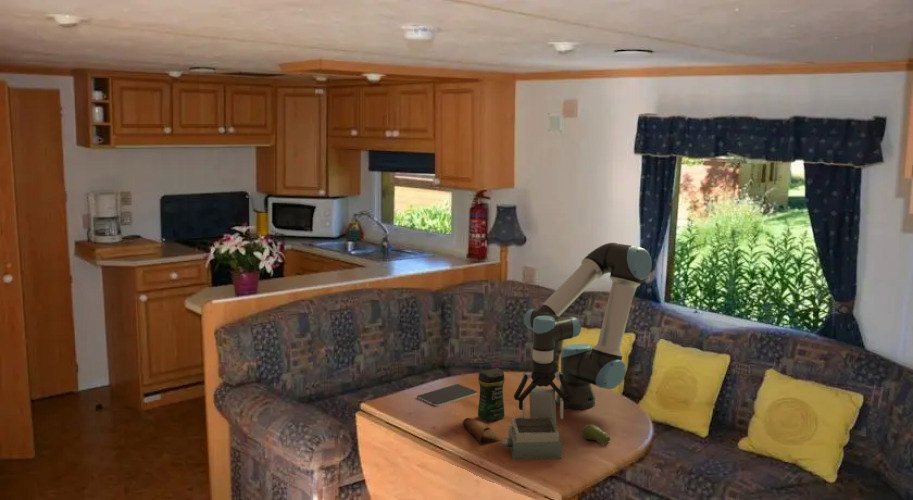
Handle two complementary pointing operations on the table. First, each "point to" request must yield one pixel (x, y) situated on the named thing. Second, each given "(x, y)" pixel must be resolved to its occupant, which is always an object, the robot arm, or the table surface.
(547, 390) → the skincare box
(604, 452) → the table surface
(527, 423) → the grey open rectangular box
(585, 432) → the pear
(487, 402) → the coffee jar
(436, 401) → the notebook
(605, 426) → the table surface
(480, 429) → the sunglasses case
